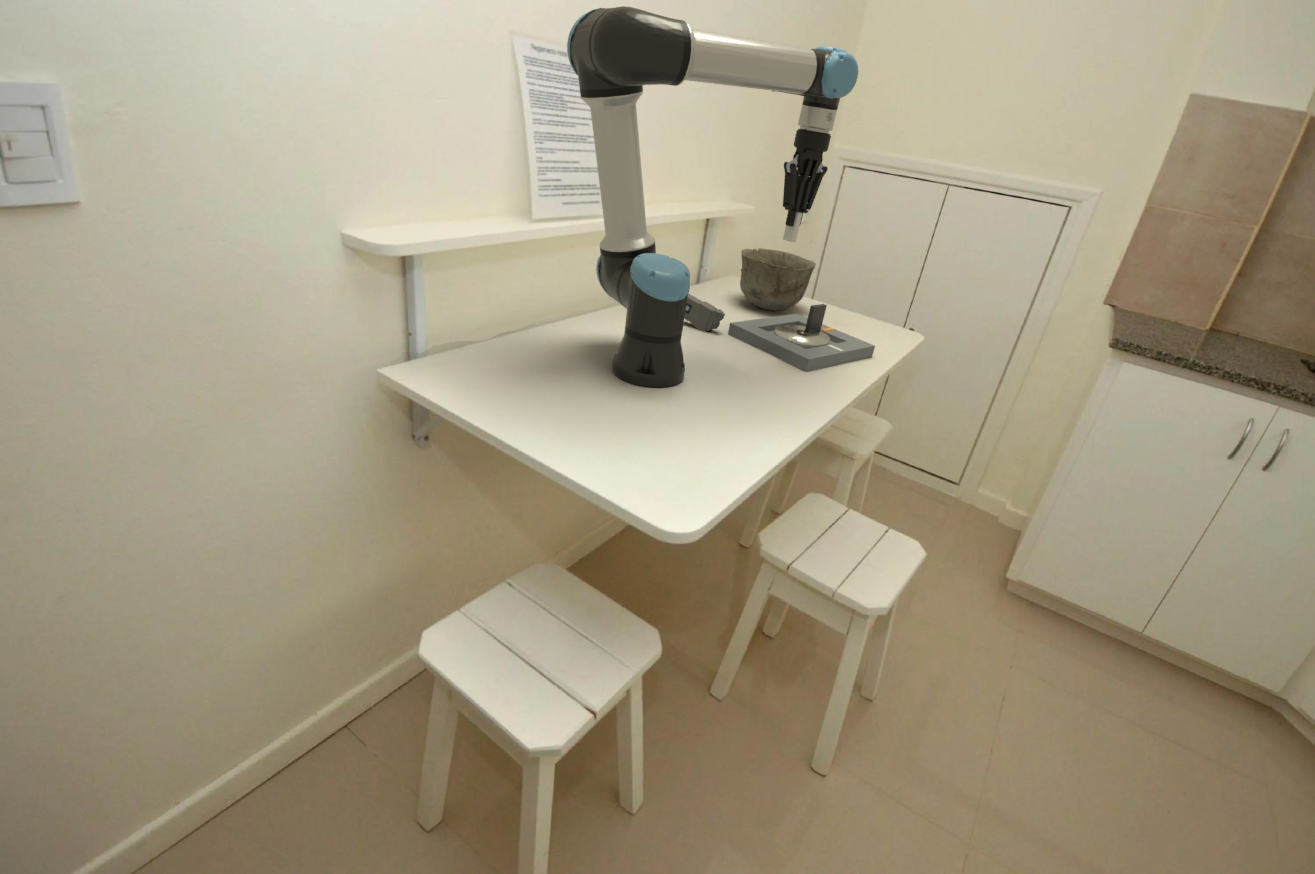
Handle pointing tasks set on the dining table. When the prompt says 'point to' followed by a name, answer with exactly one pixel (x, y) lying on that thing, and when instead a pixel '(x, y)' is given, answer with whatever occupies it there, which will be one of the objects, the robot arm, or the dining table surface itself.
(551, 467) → the dining table surface
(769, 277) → the bowl
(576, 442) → the dining table surface
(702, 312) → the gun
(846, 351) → the panel
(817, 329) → the dial
